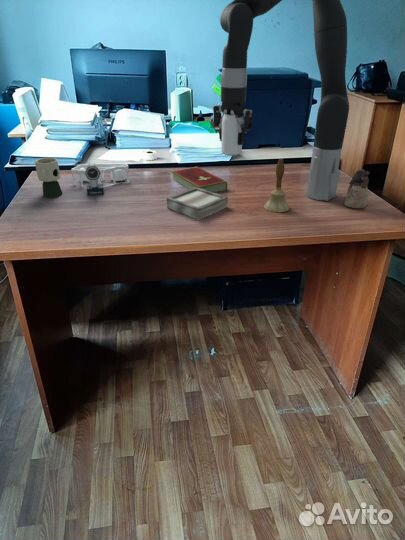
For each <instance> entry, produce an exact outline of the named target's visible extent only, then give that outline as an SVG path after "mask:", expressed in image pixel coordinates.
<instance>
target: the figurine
mask: <svg viewBox="0 0 405 540" xmlns="http://www.w3.org/2000/svg"><path fill="white" fill-rule="evenodd" d="M369 175H370V171H368V170H367V171H366V170H365V169H364V168H363V169H361V168H360V169H358V170H357V171H356V172H354V175H353V176H352V177H351V180H350V181H349V183H348V184H349V186H348V188H347V192H346V194H345V197H344V200H343V205H344V206H345V207H348V208H351V209H363V208H366V206H367V204H368V199H369V197H368V196H369V190H368V185H369V181H370V180H369V177H368V176H369Z"/></svg>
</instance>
